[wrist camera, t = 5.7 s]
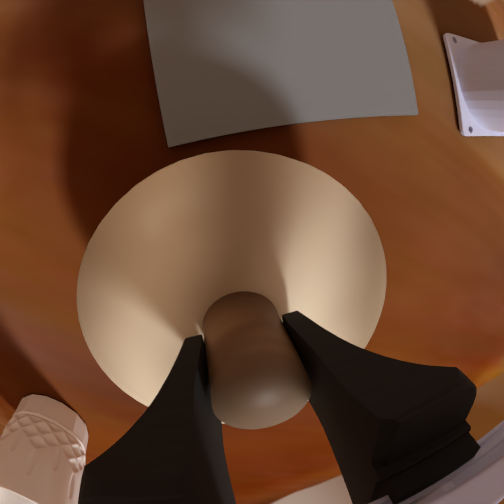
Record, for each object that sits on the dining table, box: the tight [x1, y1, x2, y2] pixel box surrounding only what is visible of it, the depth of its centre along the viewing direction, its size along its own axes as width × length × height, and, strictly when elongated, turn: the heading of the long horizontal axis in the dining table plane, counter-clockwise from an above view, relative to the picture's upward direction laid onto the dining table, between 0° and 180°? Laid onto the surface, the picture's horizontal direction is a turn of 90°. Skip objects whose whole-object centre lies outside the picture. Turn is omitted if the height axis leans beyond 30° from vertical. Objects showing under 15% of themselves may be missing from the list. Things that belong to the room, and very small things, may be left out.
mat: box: [143, 0, 418, 148], centre depth 13 cm, size 15×15×1 cm
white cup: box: [0, 394, 88, 504], centre depth 15 cm, size 8×8×10 cm
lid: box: [77, 150, 386, 429], centre depth 10 cm, size 13×13×5 cm
